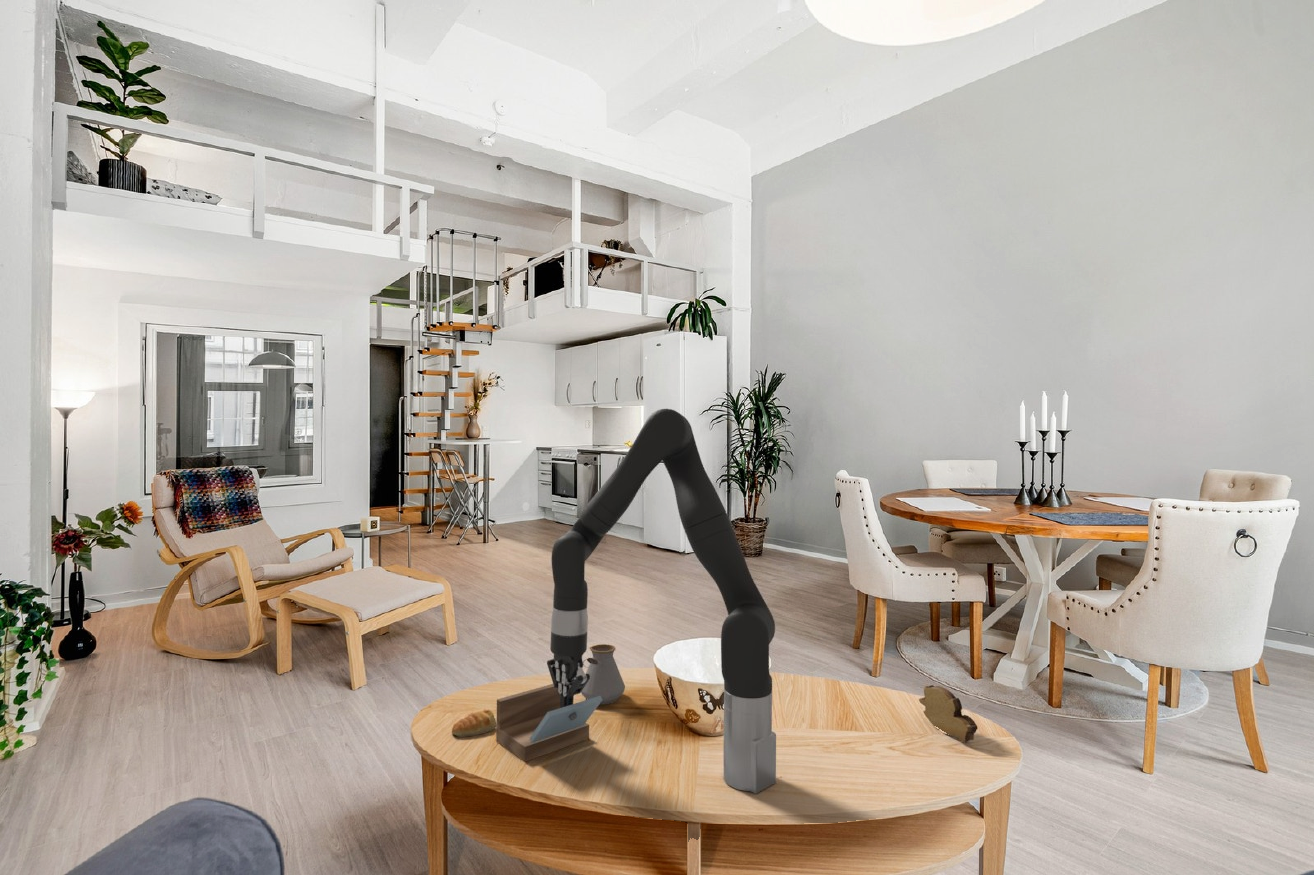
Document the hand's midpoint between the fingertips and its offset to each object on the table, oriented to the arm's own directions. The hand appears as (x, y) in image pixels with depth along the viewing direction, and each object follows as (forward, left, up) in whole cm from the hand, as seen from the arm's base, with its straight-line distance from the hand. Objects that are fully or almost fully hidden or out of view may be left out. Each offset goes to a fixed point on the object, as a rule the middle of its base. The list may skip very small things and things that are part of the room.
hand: (566, 711), depth 133 cm
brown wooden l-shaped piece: (+9, 0, -9) cm, 13 cm away
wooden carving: (-47, -71, -9) cm, 86 cm away
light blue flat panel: (+3, 0, -6) cm, 6 cm away
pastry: (+23, +9, -9) cm, 26 cm away
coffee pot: (+16, -20, -9) cm, 27 cm away
